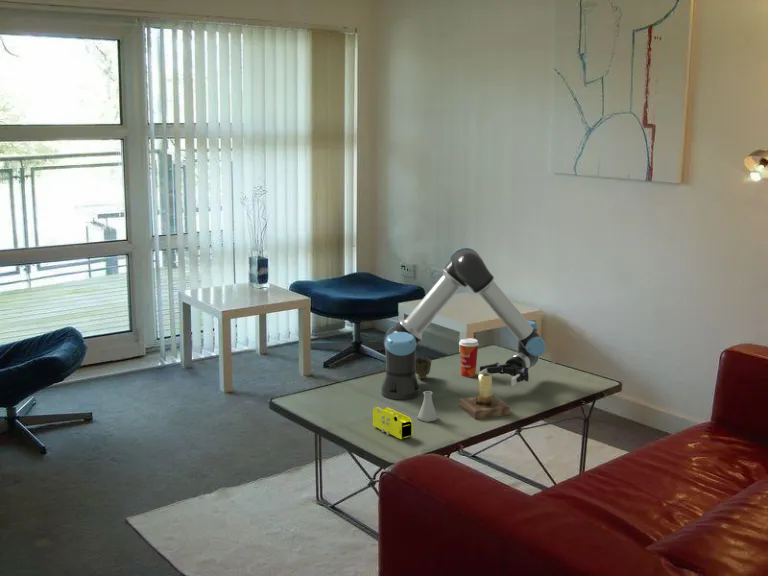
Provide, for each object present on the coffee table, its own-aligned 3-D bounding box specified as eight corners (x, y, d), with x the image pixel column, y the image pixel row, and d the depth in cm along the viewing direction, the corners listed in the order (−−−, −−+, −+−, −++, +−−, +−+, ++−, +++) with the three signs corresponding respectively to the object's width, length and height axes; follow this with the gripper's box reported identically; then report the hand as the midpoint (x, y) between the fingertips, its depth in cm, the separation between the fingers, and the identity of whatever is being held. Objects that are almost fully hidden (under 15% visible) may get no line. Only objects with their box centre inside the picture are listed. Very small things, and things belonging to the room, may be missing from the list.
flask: (413, 418, 306) (413, 392, 304) (427, 413, 311) (427, 387, 309) (427, 423, 301) (428, 397, 299) (441, 418, 306) (442, 392, 304)
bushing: (481, 413, 311) (482, 377, 308) (475, 409, 316) (476, 373, 313) (493, 412, 313) (494, 375, 310) (487, 407, 317) (488, 371, 315)
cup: (432, 376, 354) (433, 358, 352) (429, 381, 347) (429, 363, 346) (415, 374, 356) (415, 356, 354) (411, 380, 349) (411, 361, 347)
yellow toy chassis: (371, 427, 298) (371, 405, 296) (384, 424, 301) (384, 402, 299) (400, 442, 285) (400, 418, 284) (413, 438, 289) (413, 415, 287)
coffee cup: (454, 373, 358) (455, 339, 355) (471, 370, 361) (472, 337, 358) (464, 379, 351) (465, 344, 348) (481, 376, 354) (482, 342, 351)
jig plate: (475, 419, 306) (475, 411, 305) (459, 406, 319) (459, 398, 318) (509, 414, 310) (510, 407, 309) (493, 402, 323) (493, 394, 322)
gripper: (546, 379, 332) (526, 394, 315) (488, 369, 345) (465, 383, 327) (547, 360, 331) (526, 375, 313) (489, 351, 343) (465, 364, 326)
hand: (495, 379), depth 320 cm, fingers open, 13 cm apart
